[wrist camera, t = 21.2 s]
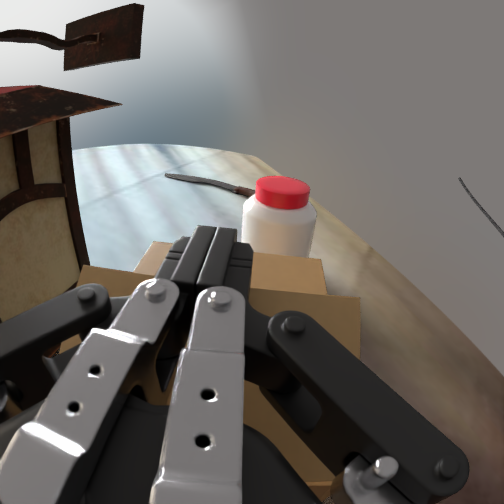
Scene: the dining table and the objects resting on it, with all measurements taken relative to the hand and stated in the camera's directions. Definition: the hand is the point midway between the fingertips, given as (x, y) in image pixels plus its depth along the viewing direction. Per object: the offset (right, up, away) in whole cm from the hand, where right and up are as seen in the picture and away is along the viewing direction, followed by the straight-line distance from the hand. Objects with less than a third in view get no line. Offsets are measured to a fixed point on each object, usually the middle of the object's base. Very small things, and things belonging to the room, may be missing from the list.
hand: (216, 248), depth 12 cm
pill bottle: (+4, -3, +25) cm, 25 cm away
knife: (-6, +12, +47) cm, 49 cm away
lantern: (-21, -5, +17) cm, 28 cm away
